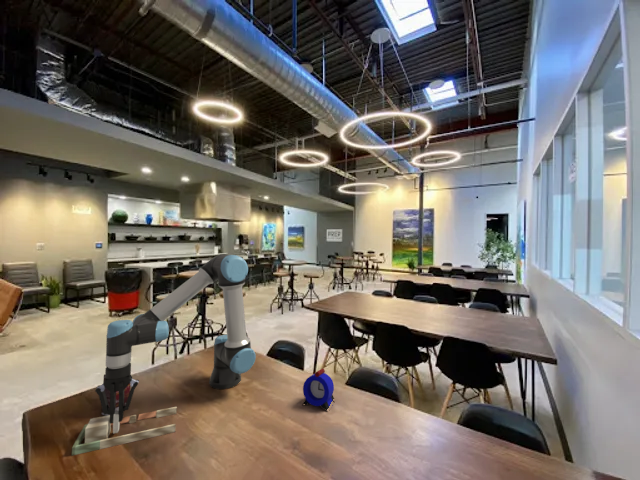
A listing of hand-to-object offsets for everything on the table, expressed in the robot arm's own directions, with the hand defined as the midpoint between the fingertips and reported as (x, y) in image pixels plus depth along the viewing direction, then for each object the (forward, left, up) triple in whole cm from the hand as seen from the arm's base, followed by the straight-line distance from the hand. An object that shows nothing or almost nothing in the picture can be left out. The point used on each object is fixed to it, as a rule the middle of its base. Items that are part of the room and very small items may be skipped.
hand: (116, 430), depth 102 cm
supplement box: (+3, -18, -2) cm, 18 cm away
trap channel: (-4, -2, -2) cm, 5 cm away
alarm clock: (-77, +9, -2) cm, 77 cm away
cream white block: (+5, 0, -2) cm, 5 cm away
